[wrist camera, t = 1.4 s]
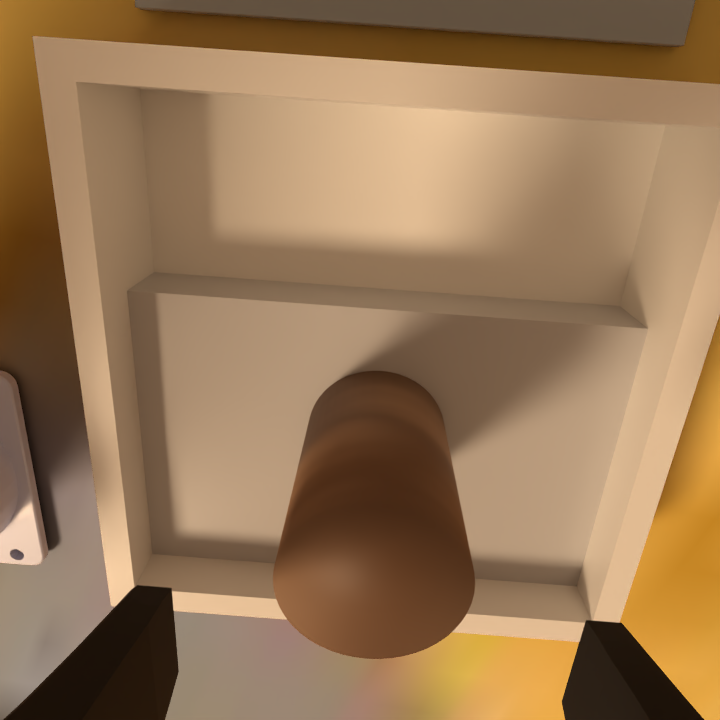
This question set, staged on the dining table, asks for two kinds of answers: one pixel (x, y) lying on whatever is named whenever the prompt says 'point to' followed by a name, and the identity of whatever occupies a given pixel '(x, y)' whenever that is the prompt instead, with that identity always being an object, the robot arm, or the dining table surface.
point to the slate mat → (474, 16)
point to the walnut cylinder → (374, 523)
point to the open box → (381, 302)
